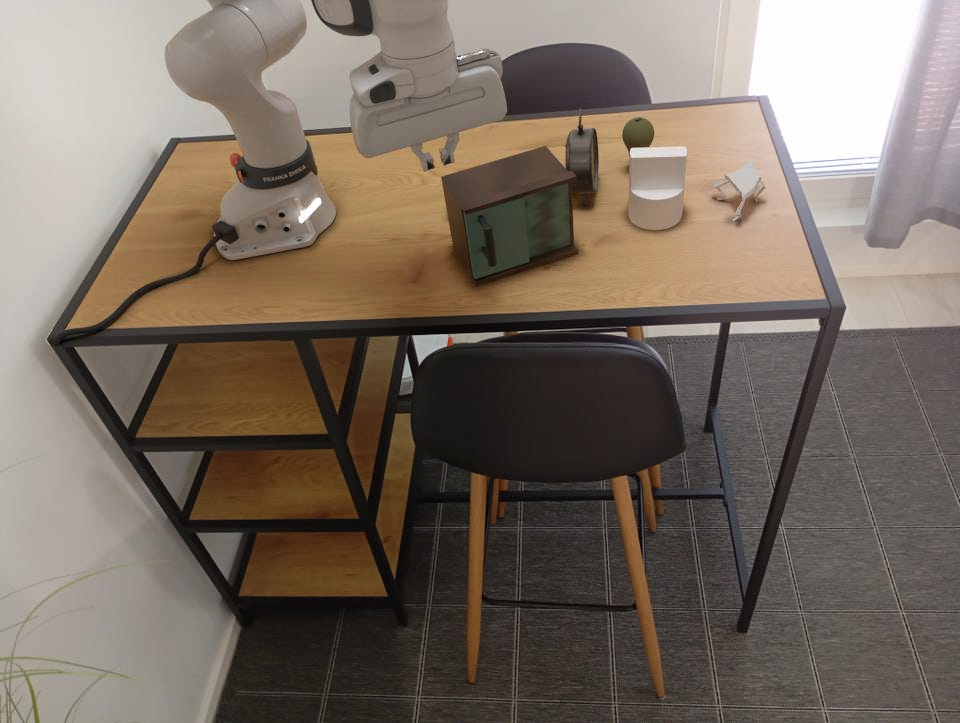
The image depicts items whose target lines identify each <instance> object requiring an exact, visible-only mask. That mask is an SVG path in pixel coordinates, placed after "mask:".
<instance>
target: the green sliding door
mask: <svg viewBox="0 0 960 723" xmlns="http://www.w3.org/2000/svg"><path fill="white" fill-rule="evenodd" d="M463 214H464V220H465V227H466V233H467V240H468V246H469V253H470V259H471V266H472V272H473V277H474V279H478V278H481V277H484V276H487V275H490V274H493V273H496V272H499V271H503V270H506V269H509V268H512V267H515V266H518V265H521V264H524V263H528V262H529V250H528V239H527V227H526V216H525V204H524V197H521V198H518V199H515V200H511V201H508V202H505V203H502V204H498V205H495V206H492V207H489V208H485V209H482V210H479V211H475V212H472V213H469V214H465V213H463Z"/></svg>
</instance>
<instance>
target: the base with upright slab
mask: <svg viewBox="0 0 960 723" xmlns="http://www.w3.org/2000/svg"><path fill="white" fill-rule="evenodd" d="M687 158H688V149H687V147H686V146H685V145H682V146H650V147H645V148H631V150H630V156H629V163H628V166H629V168H628V169H629V170H628V203H627V204H628V208H627V209H628V210H627V216H628V220H629V221H630V222H631V223H632V224H633V225H634V226H636V227H638V228H640V229H644V230H647V231H662V230H667V229H670V228H672V227H674V226H676V225H678V223H680V222H681V221H682V217H683V208H684V197H685V186H686V172H687V161H688V160H687Z"/></svg>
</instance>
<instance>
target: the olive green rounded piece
mask: <svg viewBox="0 0 960 723" xmlns="http://www.w3.org/2000/svg"><path fill="white" fill-rule="evenodd" d="M654 128H655V127H654V126H653V124H652V123H651V121H650V120H648V119H647V118H645V117H642V116H637V117H633V118H631V119H630V120H628V121H627V122H626V123H625V125H624V126H623V128H622V134H621V138H622V142H623V144H624V146H625V147H626V150H627V152H628V156H629V157H630V150H631V148H645V147H651V145H652V143H653V141H654V138H655V129H654Z"/></svg>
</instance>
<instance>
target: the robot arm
mask: <svg viewBox="0 0 960 723" xmlns="http://www.w3.org/2000/svg"><path fill="white" fill-rule="evenodd" d="M206 1H207V2H208V4H209V5H210V7H211V10H209V11H207V12H205V13H203V14H201V15H200V16H198V17H197V18H195V19H193V20H191V21H190V22H188V23H186V24H185V25H184V26H182V28H181V29H180V30H179V31H178V32H176V34H174V36H173V37H172V38H171V39H170V40H169V41H168V42H167V43H166V44H165V48H164V63H165V67H166V71H167V72H168V74H169V77H170V79H171V81H172V82H173V83H174V85H175V86H176V87H177V88H178V89H179V90H180V91H181V92H182V93H184V94H185V95H187V96H188V97H190V98H191V99H194V100H196V101H199V102H203V103H207V104H210V105H212V106H213V107H214V108H216V109H217V110H218V111H219V112H220V113H221V114H222V115H223V117H224V118H225V119H226V121H227V122H228V124H229V126H230V128H231V130H232V133H233V135H234V137H235V139H236V142H237V144H238V147H239V149H240V152H241V154H239V153H238V152H234V153H231V154H230V156H229V161H230V165H231V166H232V167H233V168H234V170H235V174H236V176H237V180H236V181H235V182H234V184H232V186H231V187H230V188H229V189H228V190H227V191H226V193H225V194H224V195H223V196H222V198H221V200H220V205H219V218H218V220H217V221H216V223H214V224H213V225H211V228H212V230H213V237H212V238H211V239H210V240H209V241H208V242H207V243H206V245H205V246H203V248H202V249H201V250H200V252H199V254H198V257H197V260H196V264H195V265H194V266H192V267H191V268H190V269H188V270H187V271H185V272H182V273H179V274H176V275H173V276H170V277H169V276H168V277H165V278H162V279H157V280H154V281H151V282H149V283H147V284H145V285H143V286H141V287H140V288H138V289H136V290H135V291H134V292H133V293H131V294H130V295H129V296H128V297H127V298H125V300H124V301H122V303H121V304H120V305H119V306H118V307H117V308H116V309H115V310H114V311H113V312H112V313H111V314H110V315H109V316H107V317H106V318H104V319H103V320H102V321H100V322H98V323H95V324H92V325H89V326H82V327H74V328H73V327H72V328H68V329H66V330H63V331H62V332H60V333H58V335H57V336H56V337H55V338H54V341H53V347H56V346H59V345H61V343H62V342H63V340H64V339H66V338H67V337H69V336H73V335H80V334H81V335H82V334H89V333H94V332H97V331H99V330H102V329H104V328H106V327H107V326H108V325H110V324H112V323H113V322H114V321H115V320H116V319H117V318H119V317H120V316H121V314H123V313H124V312H125V310H126V309H127V308H128V307H129V306H130V305H131V304H132V303H133V302H134V301H135V300H136V299H138V298H139V297H140V296H141V295H143V294H144V293H146V292H148V291H151V289H155V288H157V287H161V286H165V285H169V284H172V283H174V282H177V281H181V280H183V279H187V278H189V277H191V276H193V275H195V274H196V273H197V272H198V271H199V270H201V268H202V266H203V264H204V262H205V257H206V256H207V254H208V253H209V252H210V250H211V249H212V248H213V247H214V246H216V249H217V251H218V252H219V254H220V255H221V256H222V257H223V258H225V260H228V261H236V260H237V261H238V260H243V259H248V258H254V257H257V256H265V255H269V254H274V253H279V252H284V251H285V252H286V251H290V250H296V249H301V248H307V247H310V246H311V245H313V244H314V243H315V241H316V240H317V238H318V236H320V234H322V233H323V232H325V230H327V228H329V227H330V226H331V225H332V223H333V222H334V221H335V218H336V216H337V208H336V205H335V203H334V202H333V201H332V199H331V198H330V196H329V195H328V193H327V190H326V189H325V188H324V185H323V183H322V181H321V179H320V176H319V174H318V172H319V171H318V164H317V160H316V157H315V154H314V151H313V147H312V146H311V144H310V142H309V140H308V139H307V138H306V135H305V132H304V131H305V130H304V128H303V125H302V122H301V119H300V115H299V112H298V108H297V105H296V104H295V103H294V101H293V100H292V99H291V98H290V97H288V96H287V95H286V94H285V93H282V92H280V91H278V90H274V89H273V90H272V89H266V86H265V84H264V82H263V79H262V75H263V72H264V71H266V70H267V69H268V68H270V67H271V66H273V65H275V64H276V63H277V62H279V61H280V60H282V59H283V58H285V57H286V56H289V54H290V53H291V52H292V51H293V50H294V49H295V47H296V46H297V45H298V44H299V43H300V42H301V40H302V39H303V38H304V36H305V35H306V33H307V28H308V21H307V15H306V12H305V8H304V6H303V4H302V3H301V1H300V0H206ZM310 1H311V5H312V7H313V10H314V12H315V14H316V15H317V17H318V19H319V20H320V22H322V23H323V24H324V25H325V26H326V27H327V28H329V29H330V30H332V31H334V32H335V33H337V34H340V35H342V36H347V37H367V36H370V35H374V36H375V37H377V39H378V40H379V45H380V51H379V52H378V53H377V54H375V55H374V56H372V57H371V58H370V59H368V60H366V61H365V62H363V63H362V64H360V65H359V66H357V67H356V68H354V69H352V70H351V71H350V72H349V74H348V79H349V84H350V87H351V90H352V92H353V94H352V95H351V97H350V99H349V108H348V109H349V121H350V130H351V132H352V133H351V135H352V139H353V143H354V146H355V148H356V150H357V152H358V153H359V154H360V155H361V156H362V157H364V158H366V159H373V158H375V157H379V156H382V155H386V154H389V153H392V152H395V151H398V150H402V149H406V148H410V150H411V151H412V153H413V154H414V155H415V156H416V157H417V158H418V159H419V162H420V163H419V164H420V167H421V169H422V170H423V172H427V171H430V170H433V169H435V168H436V166H435V161H434V157H433V156H432V154H431V152H430V151H428V152H423V151H422V150H423V149H424V148H423V147H424V146H423V143H427V142H430V141H433V140H437V139H440V138H445V137H446V140H445V144H444V146H443V147H441V148H438V152H439V158H440V161H441V164H442V165H443V166H447V165H451V164H454V163H455V154H454V152H455V150H456V148H457V145H458V144H459V141H460V133H462V132H465V131H469V130H472V129H476V128H479V127H482V126H487V125H488V124H489V125H491V124H493V123H497V122H500V121H502V120H503V119H504V118H505V116H506V114H507V113H508V104H507V99H506V94H505V89H504V87H503V86H504V85H503V82H502V80H501V79H502V76H503V70H504V69H503V59H502V57H501V55H500V54H499V53H498V52H497V51H495V50H490V49H489V48H482V49H479V50H477V51H474V52H467V53H463V54H459V55H457V53H456V45H455V39H454V34H453V30H452V28H451V26H450V22H449V19H448V6H449V0H310ZM241 155H242V156H241Z"/></svg>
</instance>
